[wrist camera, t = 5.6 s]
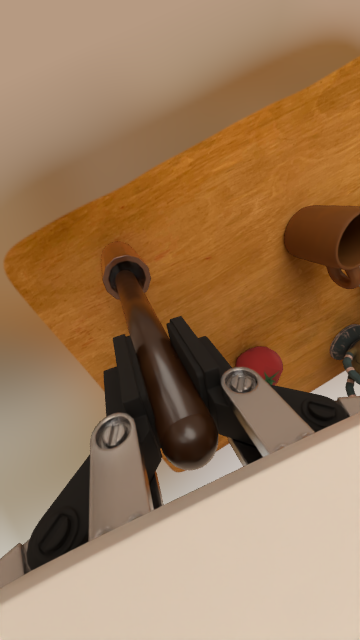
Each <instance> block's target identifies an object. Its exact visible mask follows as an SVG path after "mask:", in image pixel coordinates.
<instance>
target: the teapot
mask: <svg viewBox="0 0 360 640" xmlns="http://www.w3.org/2000/svg"><path fill="white" fill-rule="evenodd" d="M330 355H331V357H333V358H334V359H336V360H342V359H343V361H342V362H343V365H344V368H345V370H346V371H347V373H348V379H347V383H346V391H347V395H348V397H354V396H356V395H355V392H354V388H353V386H354V382H355V381H356V382H357V383H358V384H360V325H357V324H353V325H350V326H348V327H346V328H344V329H343V330H342V331H340V332H339V334H338V335H337V336H336V337H335V338H334V340H333V342H332V344H331V347H330Z"/></svg>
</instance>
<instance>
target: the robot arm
mask: <svg viewBox="0 0 360 640" xmlns="http://www.w3.org/2000/svg"><path fill="white" fill-rule="evenodd" d="M167 329H168V333H169V337H170V341H171V344H172V345H173V347H174V349H175V351H176V353H177V355H178V356H179V358H180V360H181V362H182V364H183V366H184V368H185V369H186V371H187V373H188V375H189V377H190V379H191V380H192V382H193V384H194V386H195V388H196V390H197V391H198V393H199V395H200V397H201V399H202V400H203V402H204V403H205V405H206V407H207V409H208V411H209V413H210V414H211V416H212V418H213V420H214V422H215V424H216V427H217V431H218V433H219V434H220V435H223V436H226V437H227V438H228V441H229V443H230V444H231V446H232V448H233V450H234V451H235V453H236V455H237V457H238V458H239V460H240V462H241V463H242V465H243V467H242V468H240V469H238V470H236V471H234V472H232V473H229V474H227V475H225V476H223V477H221V478H219V479H217V480H215V481H213V482H211V483H209V484H207V485H204V486H202V487H201V488H198V489H196V490H194V491H192V492H190V493H188V494H186V495H184V496H182V497H180V498H177V499H175V500H173V501H171V502H169V503H167V504H165V505H164V504H163V500H162V495H161V491H160V486H159V482H158V477H157V473H156V469H157V467H158V465H159V463H160V462H161V458H162V454H161V450H160V448H161V445H160V441H159V438H158V434H157V430H156V427H155V417H154V414H153V410H152V407H151V403H150V400H149V396H148V393H147V389H146V386H145V382H144V379H143V375H142V372H141V368H140V365H139V361H138V358H137V354H136V351H135V348H134V345H133V342H132V339H131V337H130V336H127V337H126V336H125V334H123V335H120V336H117V337H114V338H113V343H114V350H115V356H116V363H117V367H114V368H111V369H108V370H105V371H104V387H105V402H106V416H107V417H105V418H104V419H103V420H102V421H100V422H99V423H98V425H97V426H96V427H95V429H94V431H93V432H92V435H91V441H90V455H89V456H88V458H87V459H86V460H85V462H84V463H83V464H82V466H81V467H80V468H79V470H78V471H77V472H76V473H75V475H74V476H73V477H72V479H71V480H70V481H69V483H68V484H67V485H66V487H65V488H64V489H63V491H62V492H61V493H60V495H59V496H58V497H57V499H56V500H55V501H54V502H53V504H52V505H51V506H50V508H49V509H48V511H47V512H46V513H45V514H44V516H43V517H42V518H41V520H40V521H39V523H38V524H37V526H36V528H35V529H34V531H33V533H32V535H31V538H30V539H29V540H28V541H27V542H26V543H25V544H23V545H22V544H20V543H19V544H17V545H16V546H15V547H14V548H13V549H11V550H10V551H9V552H8V553H7V554H5V555H4V556H3V557H2V558H1V559H0V640H360V396H354V397H339V398H338V399H337V401H334V400H332V399H330V398H328V397H325V396H322V395H317V394H312V393H308V392H303V391H298V390H293V389H289V388H284V387H279V386H275V385H270V384H268V383H267V382H266V381H265V380H264V379H263V378H262V377H261V376H260V375H259V374H258V373H257V372H256V371H254V370H252V369H250V368H247V367H234V368H232V367H231V366H230V365H229V363H228V362H227V361H226V360H225V358H224V357H223V356H222V355H221V354H220V352H219V351H218V350H217V349H216V347H215V346H214V345H213V344H212V343H211V341H210V340H209V339H208V338H207V337H206V336H204V337H201V338H197V336H196V335H195V334H194V332H193V331H192V330H191V328H190V327H189V326H188V324H187V323H186V322H185V320H184V319H183V318H182V317H181V316H179V317H176V318H173V319H170V323H167Z"/></svg>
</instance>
